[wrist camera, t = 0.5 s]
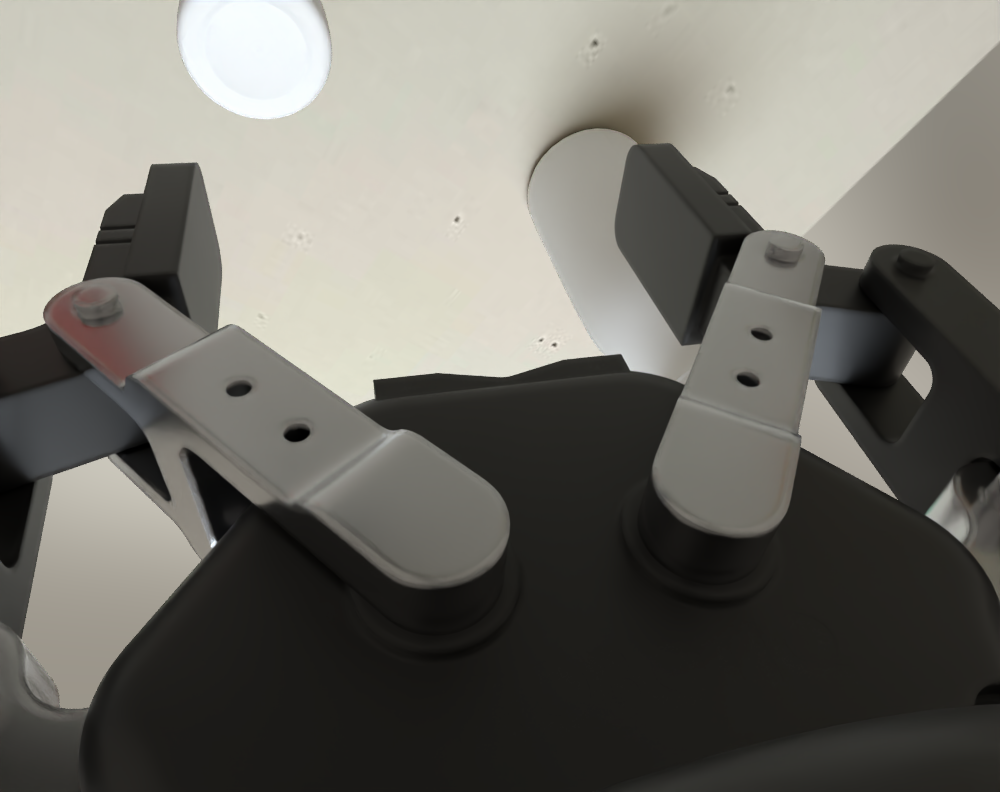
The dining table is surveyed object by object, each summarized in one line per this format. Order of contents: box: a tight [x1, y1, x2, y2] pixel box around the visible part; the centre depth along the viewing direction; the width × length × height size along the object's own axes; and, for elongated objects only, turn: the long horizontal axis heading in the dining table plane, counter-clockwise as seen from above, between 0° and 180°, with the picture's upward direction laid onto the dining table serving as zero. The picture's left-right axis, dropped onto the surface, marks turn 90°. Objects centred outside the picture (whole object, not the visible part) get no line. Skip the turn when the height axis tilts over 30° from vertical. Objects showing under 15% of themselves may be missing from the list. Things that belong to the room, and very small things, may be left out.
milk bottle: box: [527, 128, 701, 385], centre depth 38 cm, size 8×8×20 cm
